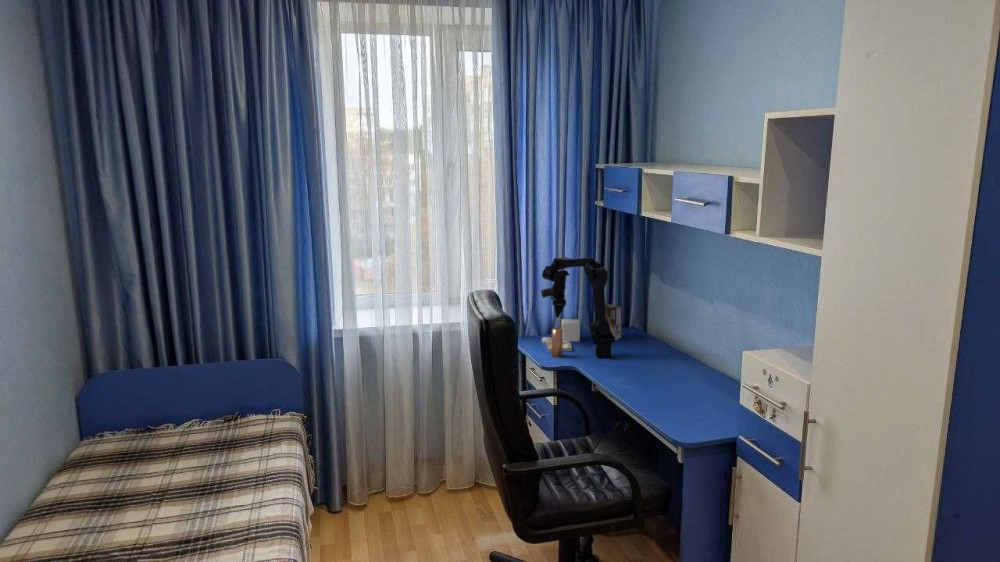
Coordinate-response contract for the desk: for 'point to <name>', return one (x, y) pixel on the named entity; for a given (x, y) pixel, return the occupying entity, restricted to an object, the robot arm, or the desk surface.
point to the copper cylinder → (557, 342)
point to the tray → (565, 346)
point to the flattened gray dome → (546, 339)
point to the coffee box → (614, 319)
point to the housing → (570, 329)
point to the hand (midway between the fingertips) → (556, 315)
